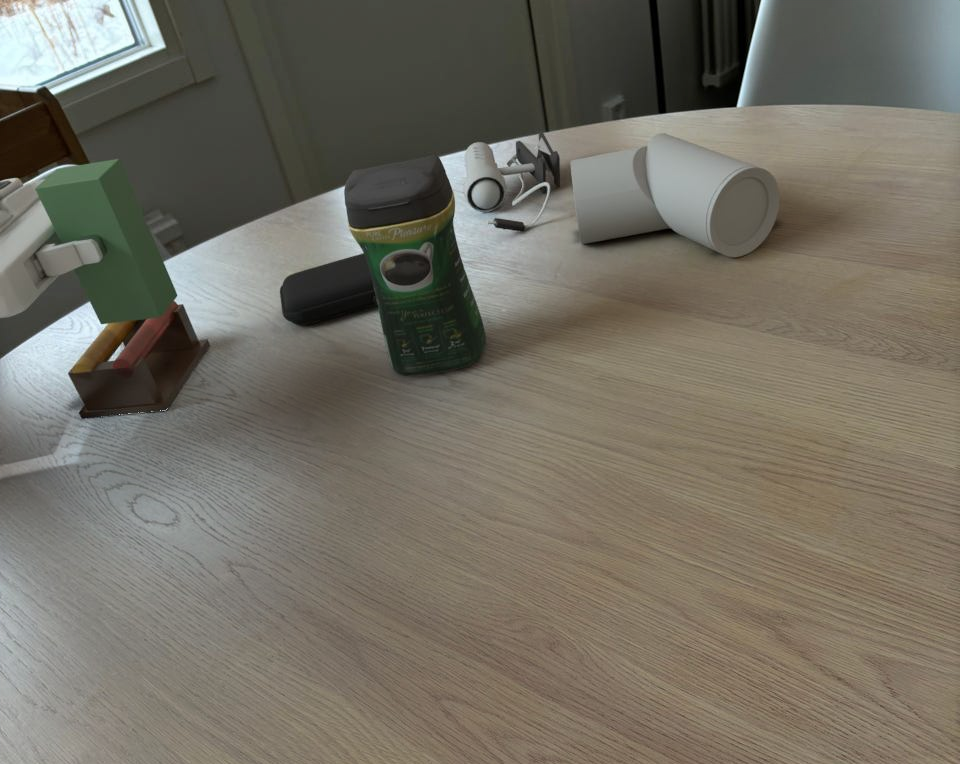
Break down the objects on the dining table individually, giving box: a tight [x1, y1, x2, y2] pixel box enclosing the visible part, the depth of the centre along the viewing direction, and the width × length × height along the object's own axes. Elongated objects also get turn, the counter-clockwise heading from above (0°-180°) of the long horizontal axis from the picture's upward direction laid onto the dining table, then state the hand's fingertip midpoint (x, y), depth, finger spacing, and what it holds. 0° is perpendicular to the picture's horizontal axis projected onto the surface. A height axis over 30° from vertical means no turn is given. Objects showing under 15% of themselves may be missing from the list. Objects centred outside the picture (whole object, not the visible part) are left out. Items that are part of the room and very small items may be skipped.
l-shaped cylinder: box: [570, 132, 781, 258], centre depth 108 cm, size 18×10×20 cm
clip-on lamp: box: [463, 131, 561, 233], centre depth 124 cm, size 12×6×18 cm
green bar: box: [35, 158, 178, 325], centre depth 89 cm, size 6×4×12 cm, turn 80°
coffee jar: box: [343, 154, 487, 377], centre depth 97 cm, size 10×8×19 cm
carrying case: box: [279, 253, 378, 326], centre depth 115 cm, size 11×3×15 cm
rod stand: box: [67, 300, 211, 420], centre depth 110 cm, size 10×13×6 cm
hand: (114, 233), depth 88 cm, fingers closed on green bar, 4 cm apart
